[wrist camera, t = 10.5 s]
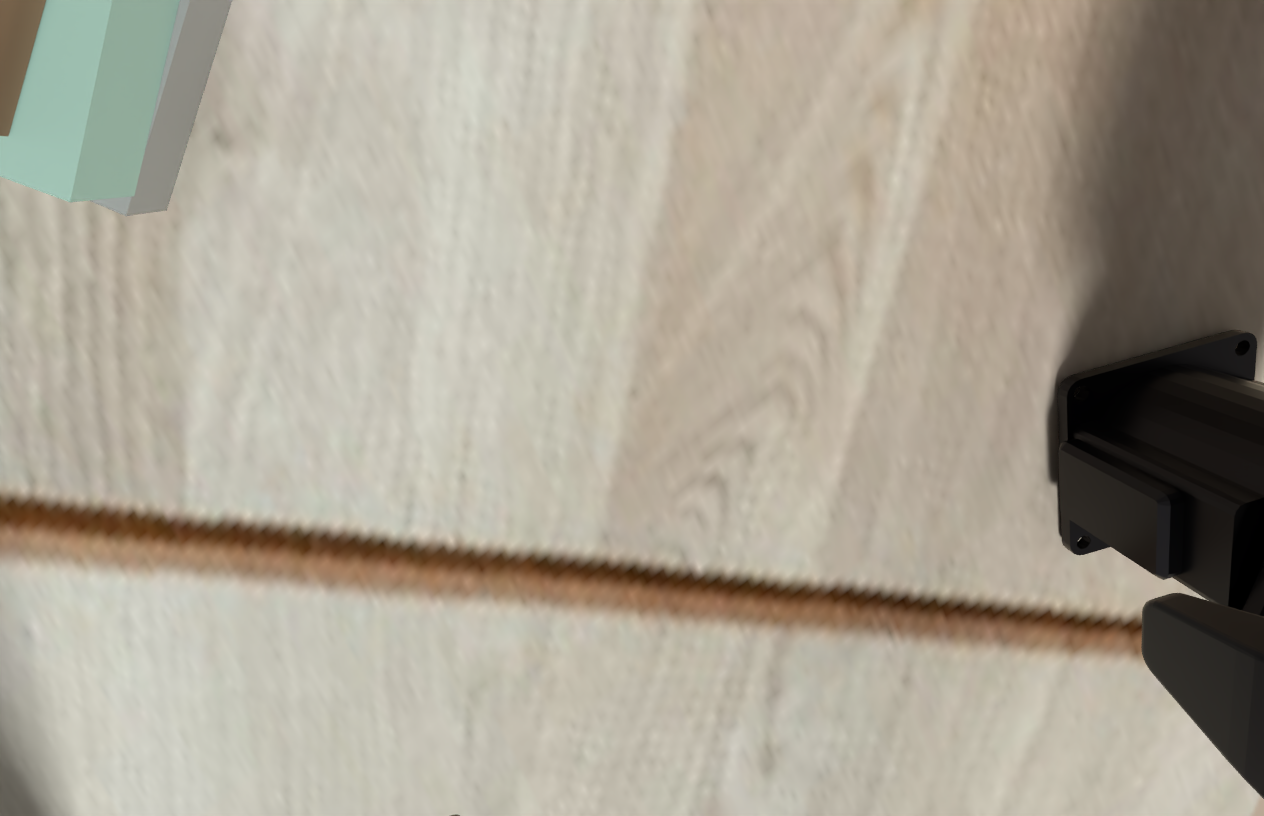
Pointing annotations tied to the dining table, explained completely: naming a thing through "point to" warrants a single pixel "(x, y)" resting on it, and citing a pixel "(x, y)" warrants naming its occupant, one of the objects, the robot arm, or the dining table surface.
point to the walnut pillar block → (15, 52)
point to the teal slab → (89, 98)
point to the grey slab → (175, 104)
